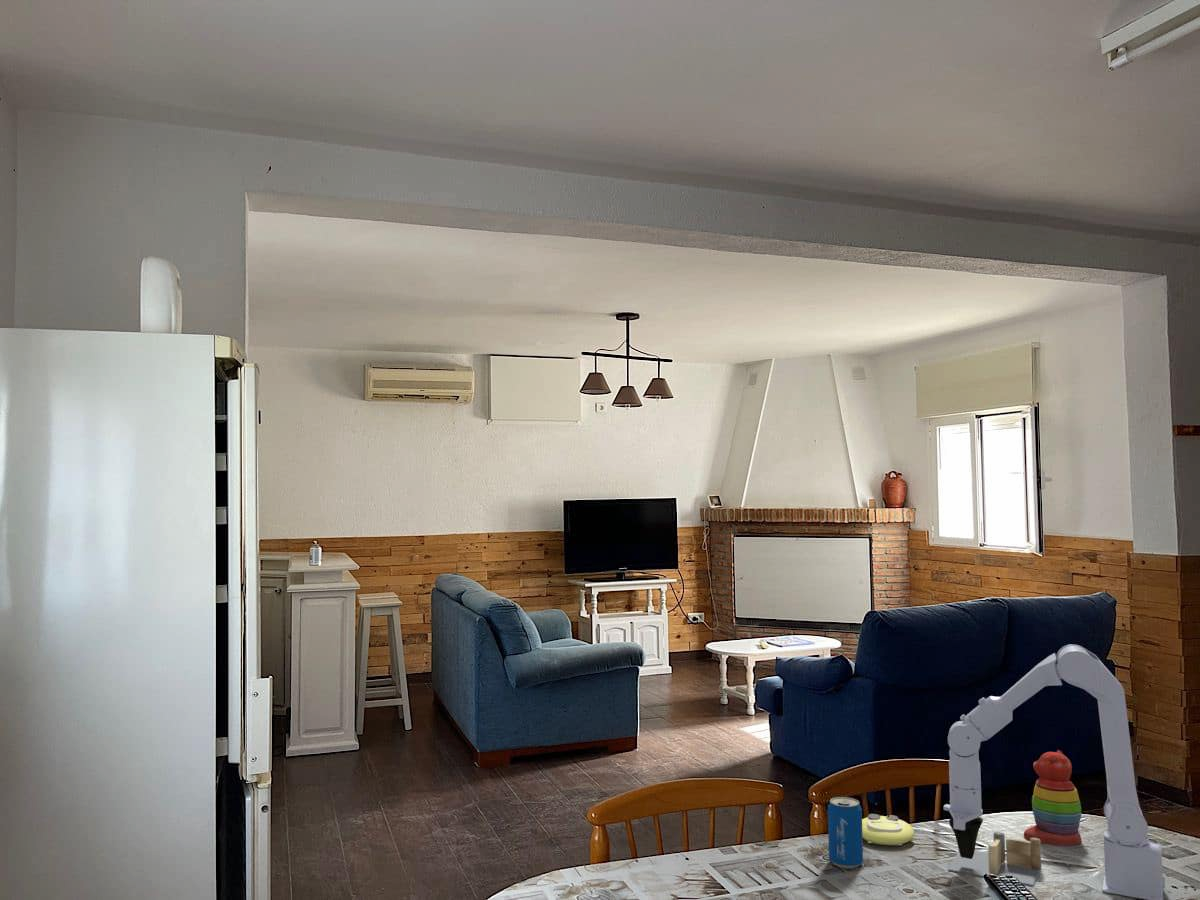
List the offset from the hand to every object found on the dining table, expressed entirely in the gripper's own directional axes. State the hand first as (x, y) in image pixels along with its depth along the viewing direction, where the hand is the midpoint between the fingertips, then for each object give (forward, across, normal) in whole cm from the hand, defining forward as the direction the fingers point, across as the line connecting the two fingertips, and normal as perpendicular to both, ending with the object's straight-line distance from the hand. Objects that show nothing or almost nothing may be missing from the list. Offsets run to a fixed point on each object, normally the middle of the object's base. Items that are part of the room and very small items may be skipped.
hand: (966, 857), depth 184 cm
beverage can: (+2, +10, -21) cm, 23 cm away
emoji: (+2, -8, -18) cm, 20 cm away
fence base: (+2, -5, +9) cm, 11 cm away
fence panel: (+1, -2, +5) cm, 6 cm away
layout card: (+2, -3, +5) cm, 6 cm away
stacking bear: (+2, -26, +13) cm, 30 cm away
